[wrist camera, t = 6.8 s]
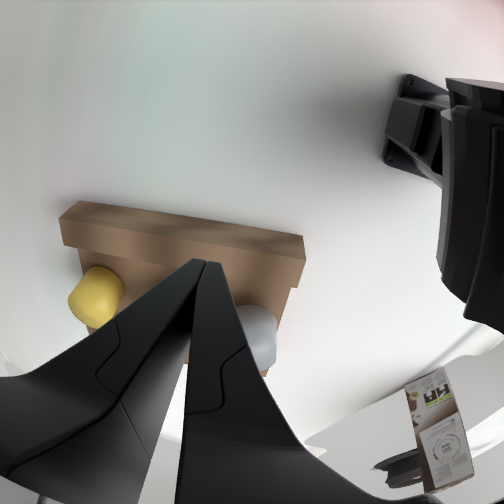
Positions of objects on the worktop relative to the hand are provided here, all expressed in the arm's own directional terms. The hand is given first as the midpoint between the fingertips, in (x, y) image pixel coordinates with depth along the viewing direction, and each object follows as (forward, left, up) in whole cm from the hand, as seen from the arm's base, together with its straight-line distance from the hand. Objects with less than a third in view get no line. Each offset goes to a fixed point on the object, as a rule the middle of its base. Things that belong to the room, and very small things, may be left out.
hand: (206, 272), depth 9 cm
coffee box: (-30, +25, -12) cm, 41 cm away
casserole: (-52, +60, -12) cm, 80 cm away
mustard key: (+10, +12, -10) cm, 19 cm away
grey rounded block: (-3, +12, -9) cm, 15 cm away
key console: (+4, +12, -12) cm, 17 cm away
